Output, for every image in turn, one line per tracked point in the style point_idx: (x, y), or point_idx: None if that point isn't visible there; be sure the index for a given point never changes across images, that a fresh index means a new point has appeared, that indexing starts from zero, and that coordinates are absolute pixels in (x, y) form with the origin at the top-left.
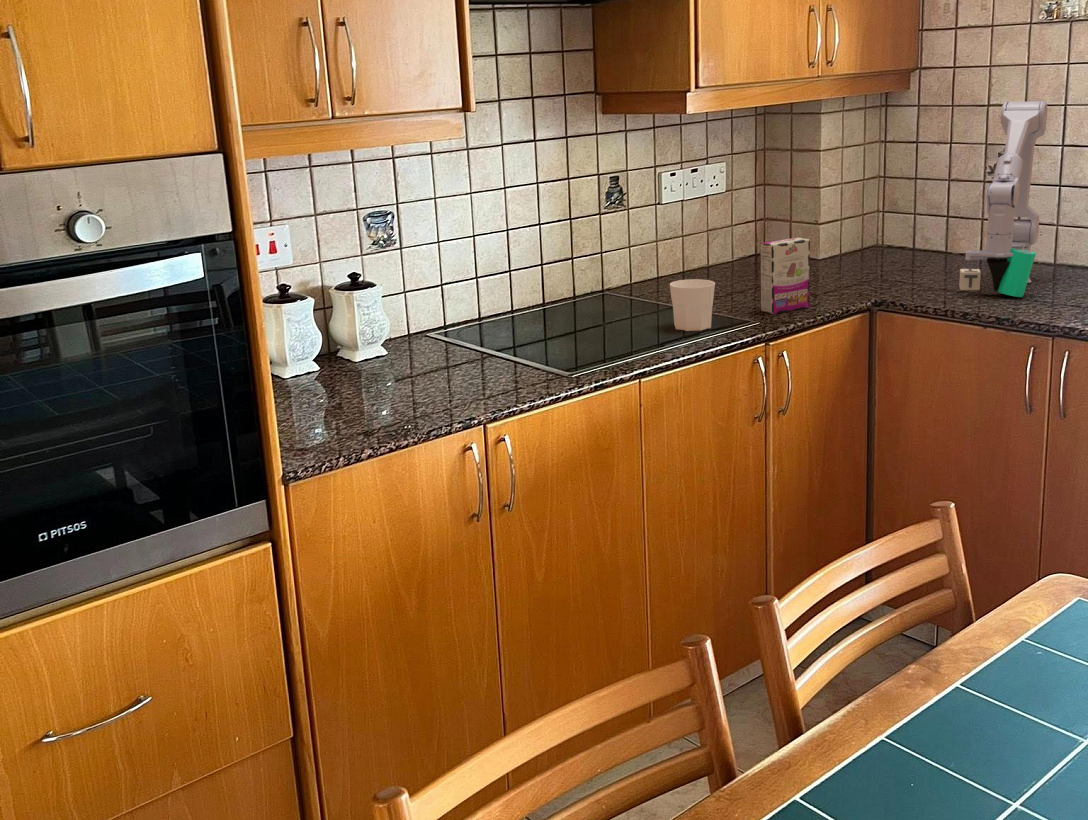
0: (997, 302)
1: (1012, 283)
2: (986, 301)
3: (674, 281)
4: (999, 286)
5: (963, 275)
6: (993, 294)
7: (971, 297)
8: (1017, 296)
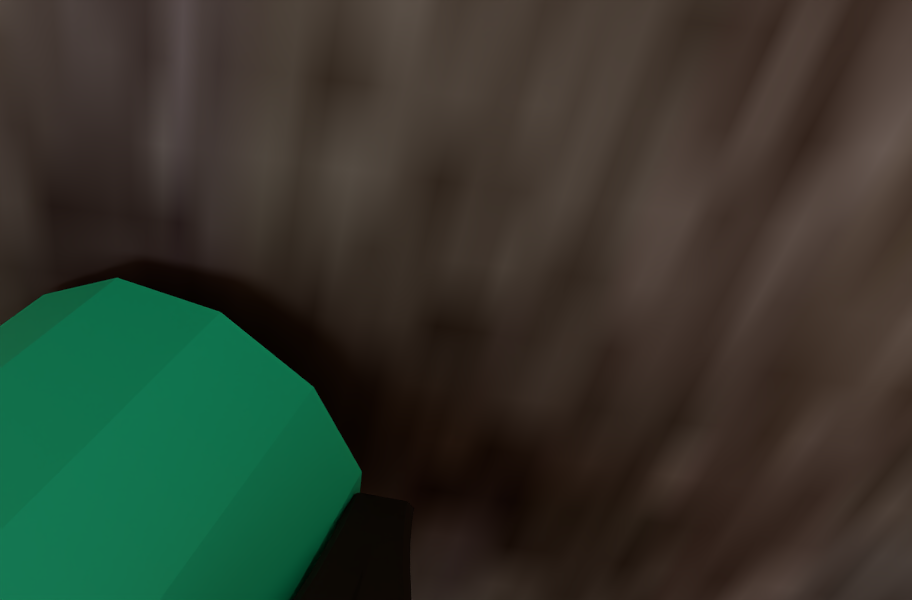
0: (471, 9)
1: (36, 464)
2: (656, 133)
3: None
4: (318, 542)
5: None
6: None
7: (768, 442)
8: (76, 287)
